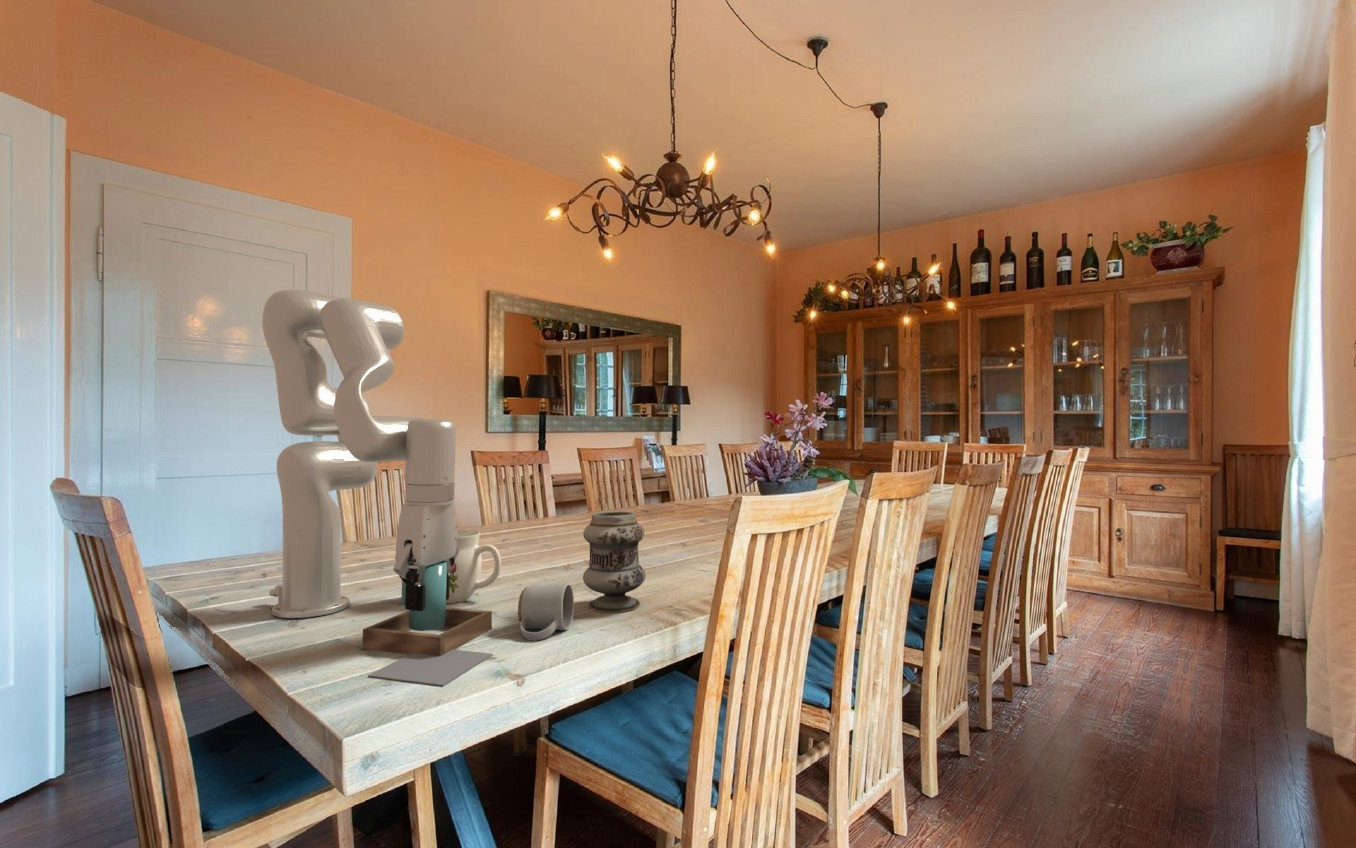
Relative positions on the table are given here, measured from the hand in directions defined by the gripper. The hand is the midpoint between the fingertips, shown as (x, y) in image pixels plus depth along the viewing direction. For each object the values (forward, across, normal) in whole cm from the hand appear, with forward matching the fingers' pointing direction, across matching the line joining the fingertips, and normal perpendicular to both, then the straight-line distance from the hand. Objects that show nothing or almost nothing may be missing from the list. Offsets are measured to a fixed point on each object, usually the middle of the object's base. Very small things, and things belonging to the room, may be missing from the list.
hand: (427, 603), depth 104 cm
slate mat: (+5, +10, +9) cm, 14 cm away
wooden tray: (+6, 0, +1) cm, 6 cm away
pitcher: (+6, -22, -9) cm, 24 cm away
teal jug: (+4, 0, 0) cm, 4 cm away
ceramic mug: (+6, -9, +17) cm, 20 cm away
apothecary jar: (+6, -26, +23) cm, 35 cm away
